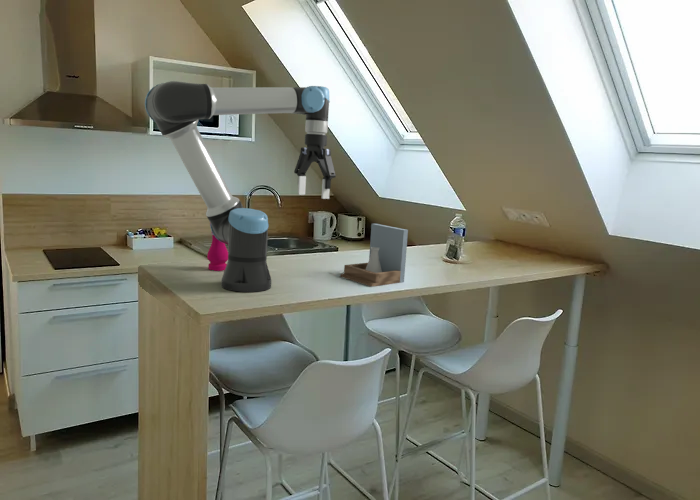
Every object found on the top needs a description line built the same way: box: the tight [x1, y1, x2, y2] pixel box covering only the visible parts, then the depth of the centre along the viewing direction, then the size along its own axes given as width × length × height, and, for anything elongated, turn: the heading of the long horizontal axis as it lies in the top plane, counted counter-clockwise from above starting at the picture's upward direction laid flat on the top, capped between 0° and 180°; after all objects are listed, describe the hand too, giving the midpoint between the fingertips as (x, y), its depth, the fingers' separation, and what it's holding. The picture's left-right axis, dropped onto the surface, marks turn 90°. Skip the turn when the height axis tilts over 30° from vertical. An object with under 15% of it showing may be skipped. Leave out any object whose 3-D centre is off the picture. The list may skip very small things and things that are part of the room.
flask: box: [365, 247, 382, 273], centre depth 199 cm, size 7×7×10 cm
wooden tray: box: [340, 262, 401, 288], centre depth 199 cm, size 13×16×4 cm
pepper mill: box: [206, 230, 228, 272], centre depth 199 cm, size 7×7×20 cm
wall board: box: [368, 223, 409, 284], centre depth 203 cm, size 2×16×18 cm, turn 41°
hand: (313, 196), depth 200 cm, fingers open, 13 cm apart
